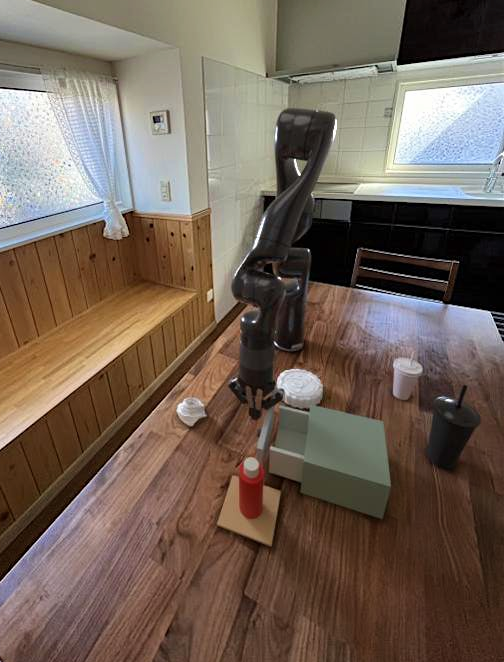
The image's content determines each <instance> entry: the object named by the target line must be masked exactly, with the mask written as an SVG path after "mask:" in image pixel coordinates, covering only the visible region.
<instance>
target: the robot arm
mask: <svg viewBox="0 0 504 662" xmlns="http://www.w3.org/2000/svg"><path fill="white" fill-rule="evenodd" d="M336 132H337V116H336V114H335V113H333V112H331V111H326V110H317V109H309V108H299V107H298V108H297V107H287V108H285V109H283V110H281V112H280V113H279V114H278V117H277V119H276V123H275V126H274V135H273V136H274V137H273V149H274V150H273V152H274V167H275V180H276V181H275V183H276V184H275V185H276V186H275V187H276V188H275V199H274V200H273V201H272V202H271V203H270V204H269V206H268V207H266V210H265V211H264V213H263V214H262V217H261V219H260V222H259V225H258V229H257V231H256V235H255V238H254V241H253V244H252V246H251V247H250V249H249V251H248V252H247V254H246V256H245V257H244V259H243V261H242V262H241V263H240V265H239V267H238V268H237V269H236V271H235V273H234V275H233V277H232V280H231V285H230V286H231V287H230V289H231V295H232V296H233V298H234V299H235V300H236V301H238V302H240V303H242V304H245V305H248V306H251V307H252V308H253V307H254V308H256V309H254V310H247V311H245V312H244V313H243V314H242V315H241V317H240V321H239V322H240V323H239V346H238V376H237V377H234V376H232V377H231V378H230V381H229V382H228V385H227V387H228V388H229V390H230V391H231V392H232V393H233V394H234V396H235V397H236V398H237V399H238V401H239V402H240V403H241V404H242V405H245V404H246V405H247V406H248V416H249V417H250V419H251V420H252V421H258V420H261V418H262V415H263V410H265V411H267V410H268V409H270V408H271V407H273V406H274V405H275V406H277V404H278V403H280V402H281V401H282V400H283V396H284V389H282V388H281V389H279V388H277V382H276V381H275V379H274V374H275V360H276V348H277V349H279V350H281V351H283V352H288V353H294V352H298V351H300V350H302V349H303V347H304V338H305V328H306V327H305V326H306V325H305V324H306V315H307V304H308V290H309V281H310V273H311V267H312V253H311V251H310V249H309V248H304V247H292V245H294V243H296V242H297V241H298V240H300V239H301V238H302V237H303V236H304V235H305V234H306V233H307V232H308V231H309V229H310V228H311V226H312V224H313V219H314V213H315V204H316V203H315V198H314V195H313V192H314V189H315V187H316V185H317V183H318V180H319V177H320V175H321V173H322V171H323V169H324V166H325V164H326V162H327V160H328V157H329V155H330V152H331V150H332V147H333V144H334V140H335V137H336ZM296 160H298V161H302V162H306V163H305V166H304V167H303V169H302V171H301V172H300V171H299V169H298V166H297V162H296ZM268 264H272V271H273V273H268V272H266V271H262V270H263V268H265V266H266V265H268ZM283 279H285V280H286V279H288V280H292V281H290V282H284V281H283ZM258 309H259V310H258ZM275 347H276V348H275ZM268 395H269V396H268ZM265 397H266V398H265ZM264 398H265V399H264Z"/></svg>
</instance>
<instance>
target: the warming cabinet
mask: <svg viewBox="0 0 504 662" xmlns="http://www.w3.org/2000/svg"><path fill="white" fill-rule="evenodd" d="M309 413H310V414H309V422H308V430H307V438H306V446H305V454H304V462H303V472H302V481H301V482H300V494H303V495H307V496H310V497H313V498H316V499H318V500H322V501H325V502H328V503H331V504H334V505H337V506H340V507H343V508H346V509H350V510H352V511H356V512H358V513H362V514H365V515H368V516H371V517H374V518H378V519H379V520H383V519H384V515H385V512H386V507H387V504H388V501H389V496H390V494H391V489H392V483H391V482H392V481H391V474H390V473H391V472H390V465H389V457H388V448H387V440H386V431H385V423H384V421H382V420H378V419H373V418H369V417H367V416H366V417H365V416H361V415H358V414H357V415H356V414H352V413H348V412H344V411H340V410H335V409H331V408H326V407H322V406H318V405H316V406H314V405H311V406H310V408H309Z"/></svg>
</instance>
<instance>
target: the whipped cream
mask: <svg viewBox="0 0 504 662" xmlns="http://www.w3.org/2000/svg"><path fill="white" fill-rule="evenodd" d="M205 409H206V407H205V404H204V403H202V401H201V400H200V399H199V398H195V397H187V398H184V399H183V401H182V402H180V403H179V404H178V405H177V407H176V413H177V416H178V418H179V419H180V421H181V422H182V423H183V424H185V425H186V426H188V427H194V425H195V423H197V421H199V419H202V418H207V416H208V415H207V413H206V411H205Z"/></svg>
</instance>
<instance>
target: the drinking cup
mask: <svg viewBox="0 0 504 662" xmlns="http://www.w3.org/2000/svg"><path fill="white" fill-rule="evenodd" d="M467 389H468V385H466V384H462V387H461V390H460V392H459V396H458V398H455V397H452V396H439V397H437V398H436V399H434V401H433V403H432V408H433V413H432V419H431V426H430V431H429V432H430V433H429V438H428V445H427V452H426V456H427V458H428V459H429V461H430V462H431V463H432V464H433V465H434V466H436V467H438V468H440V469H443V470H450V469H453V468H454V467H455V465H456V464H457V462H458V460H459V458H460V456H461V455H462V453H463V451H464V449H465V447H466V446H467V444H468V443H469V440H470V439H471V437H472V436H473V434H474V432H475V430H476V428H477V427H479V426H480V425H481V422H482V418H481V415H480V414H479V412H478V411H477V409H476V408H475V407H473V406H472V405H470V404H469V403H468V402H465V401H464V398H465V394H466V393H467Z"/></svg>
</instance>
